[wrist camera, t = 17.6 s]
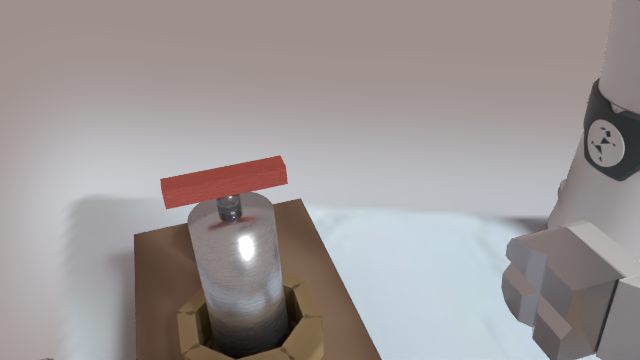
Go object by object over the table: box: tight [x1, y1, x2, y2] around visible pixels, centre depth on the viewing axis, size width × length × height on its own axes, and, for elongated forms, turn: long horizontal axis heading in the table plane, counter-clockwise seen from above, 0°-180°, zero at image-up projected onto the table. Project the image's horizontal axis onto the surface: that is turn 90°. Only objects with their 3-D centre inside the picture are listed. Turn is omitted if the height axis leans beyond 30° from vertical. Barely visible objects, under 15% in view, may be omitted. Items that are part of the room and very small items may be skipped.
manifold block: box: [134, 199, 382, 360], centre depth 38 cm, size 14×22×9 cm, turn 17°
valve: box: [161, 156, 292, 360], centre depth 30 cm, size 6×5×12 cm
